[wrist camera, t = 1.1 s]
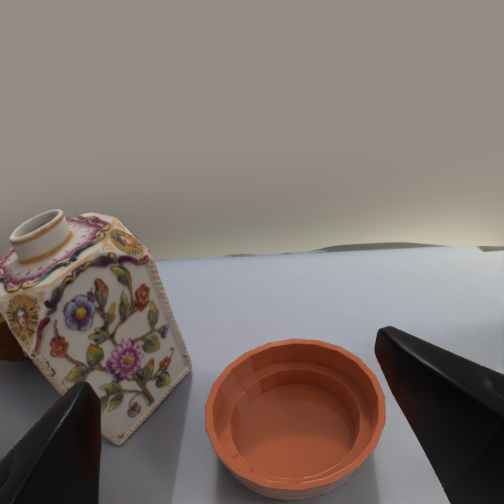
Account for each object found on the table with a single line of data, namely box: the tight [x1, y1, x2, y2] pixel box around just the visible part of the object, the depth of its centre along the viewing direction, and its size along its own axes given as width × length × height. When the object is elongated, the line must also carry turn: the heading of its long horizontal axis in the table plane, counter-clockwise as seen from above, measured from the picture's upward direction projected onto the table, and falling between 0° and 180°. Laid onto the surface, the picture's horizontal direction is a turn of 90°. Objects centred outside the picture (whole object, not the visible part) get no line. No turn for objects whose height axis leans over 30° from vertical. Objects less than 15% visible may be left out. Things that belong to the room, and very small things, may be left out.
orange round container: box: [205, 339, 386, 501], centre depth 19 cm, size 12×12×6 cm
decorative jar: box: [0, 209, 192, 446], centre depth 21 cm, size 12×12×18 cm
